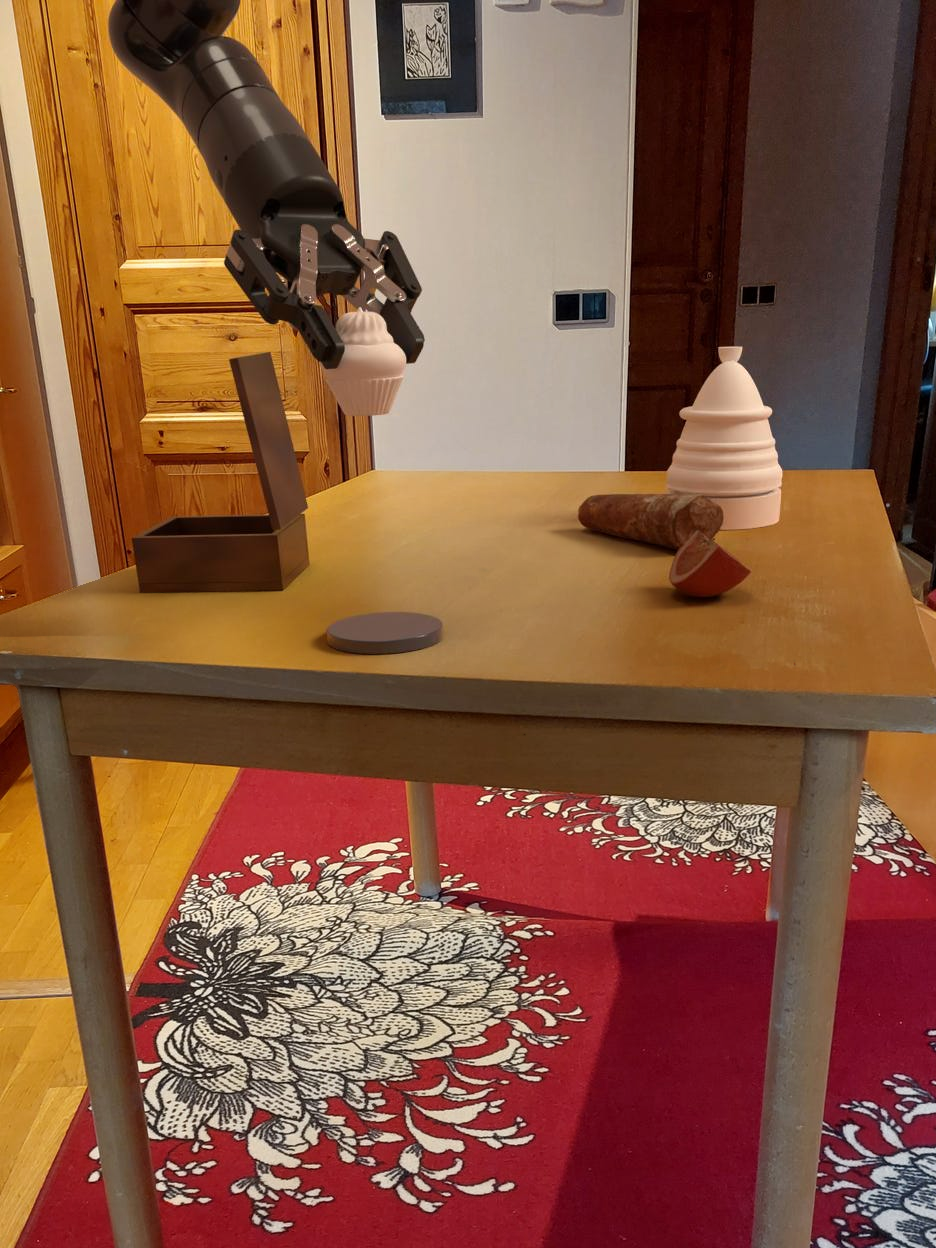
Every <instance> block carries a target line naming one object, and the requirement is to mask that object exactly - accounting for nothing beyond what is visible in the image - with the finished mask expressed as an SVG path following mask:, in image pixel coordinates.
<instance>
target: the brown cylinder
mask: <svg viewBox="0 0 936 1248" xmlns="http://www.w3.org/2000/svg"><path fill="white" fill-rule="evenodd" d="M723 519H724V516H723V510H722V508H721V507H720V506H719V505H717V504H716V503H714V502H712V501H711V500H710V499H708V498H707V497H705V496H704V495H693V494H665V493H610V494H607V493H606V494H594V495H590V496H588V497H587V498H586V499H585V500H584V501H583V502H582V503H581V504H580V506H579V507H578V509H577V520H578V522H579V523H580V525H581V526H583V527H584V528H586V529H589V530H594V531H597V532H601V533H605V534H608V535H611V536H614V537H619V538H623V539H627V540H629V539H630V540H635V541H639V542H644V543H648V544H652V545H657V546H661V547H663V548H669V549H671V550H677V551H678V550H679V549H680V547H682V546H683V545H684V543H685V542H686V541H687V540H688V539H689V538H690V537H691V536H692V535H693V534H694V533H695V532H696V531H697V530H698V531H700V532H702V534H704V535H705V536H706V537H707V538H708V539H709V540H710V539H713V538H715V536H716V535H717V534H718V533H719V531H721V530H720V528H721V526H722V524H723Z"/></svg>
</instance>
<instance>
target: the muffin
mask: <svg viewBox="0 0 936 1248" xmlns="http://www.w3.org/2000/svg"><path fill="white" fill-rule="evenodd" d="M335 329H336V331H337V332H338V334H339V336H340V338H341V339H342V341H343V343H344V346H345V351H344V354H343V356H342V359H341V361H340V363H339V365H338V367H337V368H336V369H325V368H324V366H323V365H322V363H321V362H319V366H320V370H321V371H322V373H323V374H324V376H325V378H326V379H325V382H326V384H327V385H328V387H329V389H330V391H331V393H332V394H333V396H334V398H335V400H336V402H337V404H338V405H339V407H340V409H341V411H342V412H343V414H344V416H348V417H349V416H350V417H371V416H372V417H373V416H382V415H388V414H390V412H391V410H392V408H393V405H394V402H395V400H396V397H397V395H398V392H399V390H400V387H401V386H402V382H403V381H404V376H403V374H404V371H405V369H406V365H407V364H406V356H405V353H404V352H403V350H402V349H401V348H400V347H399V346H398V345H397V344H395V343H394V342H393V338H392V336H391V335H390V334H389V333H388V332H387V328H386V322H385V321H384V319H383V318H382V317H381V316H380V315H379V314H377V313H375V312H368V311H364V310H363V309H362V308H361V307H359V308H358V309H357V310H356V311H349V312H346V313H343V314H342V315H341V316H340V317H338V320H337V321H336V323H335Z"/></svg>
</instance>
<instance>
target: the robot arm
mask: <svg viewBox="0 0 936 1248" xmlns="http://www.w3.org/2000/svg"><path fill="white" fill-rule="evenodd" d="M240 6H241V0H115V1H114V2H113V4H112V6H111V8H110V10H109V14H108V19H107V33H108V38H109V42H110V46H111V49H112V51H113V53H114V54H115V56H116V58H117V59H118V61H119V62H120V63H121V64H122V66H123V67H124V68H125V69H126V70H127V71H128V72H130V73H131V74H132V75H133V76H134V77H135V78H137V79H138V80H139V82H141V83H142V84H144V85H145V86H146V87H148V88H149V89H150V90H152V92H154V93H155V94H156V96H158V97H159V98H160V99H161V100H162V101H163V102H164V103H165V104H166V105H167V106H168V107H169V109H170V110H171V111H172V112H173V113H174V114H175V115H176V117H177V118H178V119H179V120H180V122H181V123H182V125H184V128H185V130H186V132H187V133H188V135H189V136H190V138H191V139H192V142H193V143H194V146H196V148H197V150H198V152H199V153H200V155H201V157H202V158H203V161H204V163H205V165H206V169H207V170H208V171H207V172H208V173H209V176H210V178H211V180H212V183H213V184H214V186H215V188H216V189H217V191H218V193H219V195H220V197H221V199H222V201H223V202H224V204H225V205H226V208H227V209H228V210H229V212H230V214H231V216H232V217H233V219H234V220H235V223H236V224H237V226H238V228H239V229H234V230H233V233H232V236H231V238H230V242H229V245H228V248H227V251H226V254H225V257H224V260H223V265H224V267H225V268H226V270H227V271H228V272H229V273H230V275H231V277H232V278H233V279H234V281H235V282H236V284H237V285H238V286H239V287H240V289H241V290H242V292H243V293H244V295H245V296H246V298H247V299H248V300H249V302H250V303H251V304H252V306H253V307H254V308H255V310H256V311H257V313H258V314H259V316H260V317H261V318H262V320H263V321H264V322H265V323H267V324H269V325H272V326H273V325H274V326H276V325H278V324H279V323H280V321H281V322H286V323H288V325H289V326H290V327H291V328H292V329H293V330H295V331H298V333H299V334H300V336H301V338H302V339H303V341H304V343H305V345H306V346H307V348H308V350H309V352H310V353H311V355H312V357H313V358H314V359H315V360H316V361H317V362H319V363H320V362H321V363H322V365H323V366H324V368H325V369H336V368H337V367H338V365H339V363H340V361H341V359H342V356H343V354H344V351H345V346H344V343H343V341H342V339H341V338H340V336H339V334H338V332H337V331H336V326H334V323H332V320H331V319H330V317H329V315H328V314H327V312H326V310H325V308H324V307H323V305H316V302H317V297H321V296H325V295H326V294H330V295H335V296H341V297H342V298H343V299H344V300H345V301H347V302H348V303H349V304H350V305H352V306H353V307H354V308H355V309H356V310H358V308H359V307H361V308H362V310H363V309H365V310H366V312H375V313H377V314H379V315H380V316H381V317H382V318H383V319H384V321H385V322H386V328H387V332H388V333H389V334H390V335H391V336H392V338H393V342H394V343H395V344H397V345H398V346H399V347H400V348H401V349H402V350H403V352H404V353H405V356H406V365H409V364H415V363H416V362H417V360H418V358H419V357H420V354H421V353H422V351H423V349H424V345H425V341H426V340H425V334H424V333H423V331H422V330H421V329H420V326H419V325H418V323H417V322H416V320H415V318H414V317H413V315H412V311H413V308H414V306H415V304H416V302H417V300H418V298H420V296H421V294H422V291H423V288H422V286H421V284H420V282H419V279H418V277H417V275H416V272H415V271H414V269H413V267H412V264H411V263H410V261H409V258H408V257H407V256H408V255H407V254H406V253H405V250H404V248H403V246H402V244H401V242H400V239H399V238H398V236H397V235H396V234H395V233H394V232H392V231H389V230H385V231H383V233H382V235H381V237H380V239H373V238H372V239H371V238H364V235H363V234H362V233H361V231H359V230H358V229H357V228H356V227H355V226H353V225H352V224H351V223H350V221H349V220H348V218H347V217H348V216H347V213H346V209H345V207H346V206H345V202H344V198H343V194H342V192H341V189H340V187H339V186H338V184H337V183H336V181H335V180H334V178H333V176H332V174H331V173H330V171H329V170H328V168H327V166H326V165H325V163H324V161H323V160H322V158H321V156H320V155H319V153H318V152H317V149H316V148H315V147H314V145H313V143H312V142H311V140H310V138H309V137H308V135H307V133H306V132H305V130H304V128H303V126H302V125H301V123H300V122H299V120H298V119H297V118H296V116H295V115H294V114H293V113H292V112H291V110H290V109H289V108H288V107H287V106H286V104H284V102H283V101H282V99H281V97H280V96H279V94H278V93H277V90H276V89H275V88H274V86H273V84H272V83H271V81H270V79H269V78H268V76H267V74H266V72H265V71H264V69H263V67H262V65H261V64H260V63H259V61H258V59H257V58H256V57H255V55H254V54H253V53H252V52H251V50H250V49H249V48H248V47H247V46H246V45H245V44H243V42H240V41H239V40H238V39H235V38H233V37H230V36H225V35H224V34H225V33H226V31H227V30H228V28H229V27H230V25H232V23H233V21H234V19H235V18H236V16H237V15H238V12H239V9H240ZM362 271H363V273H364V278H363V280H362V283H361V285H360V287H359V288H357V286H356V284H357V282H358V279H359V277H360V274H361V272H362ZM281 277H282V278H283V280H282V278H281ZM266 291H267V292H268V294H267V292H266ZM376 291H378V292H379V293H381V294H382V295H383V296H385V298H386V299H385V301H384V303H383V302H382V301H380V300H379V299H378V297H376Z"/></svg>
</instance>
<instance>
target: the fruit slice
mask: <svg viewBox="0 0 936 1248" xmlns="http://www.w3.org/2000/svg"><path fill="white" fill-rule="evenodd" d="M715 541H716V538H715V537H713V538H712V539H710V540H709V539H708V538H707V537H706V536H705V535H704V534H702V532H700V531H698V530H697V531H696V532H695V533H694V534H693V535H692V536H691V537H690V538H689V539H688V540H687V541H686V542H685V543H684V545H683V546H682V547H680V549H679V550H677V551H676V554H675V556H674V558H673V560H672V564H671V567H670V570H669V575H668V579H669V582H670V584H671V585H672V586H673V587H674V588H675V589H676V590H677V591H680V592H681V593H683V594H684V595H686V596H688V597H694V598H711V597H715V596H718V595H722V594H725V593H726V592H728V591H731V590H732V589H734V588H735V587H736V586H738V585H739V584H741V583H742V582H743V581H744V580H745V579H746V578H748V576H749V575H750V574H751V572H752V571H751V570H750V569H749V568H748V567H746V565H744V564H743V562H742V561H740V560H739V559H737V557H735V555H733V554H732V553H731V552H730V551H728V550H727V549H726V548H724V547H722V546H721V545H719V544H718V543H716V542H715Z"/></svg>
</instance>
